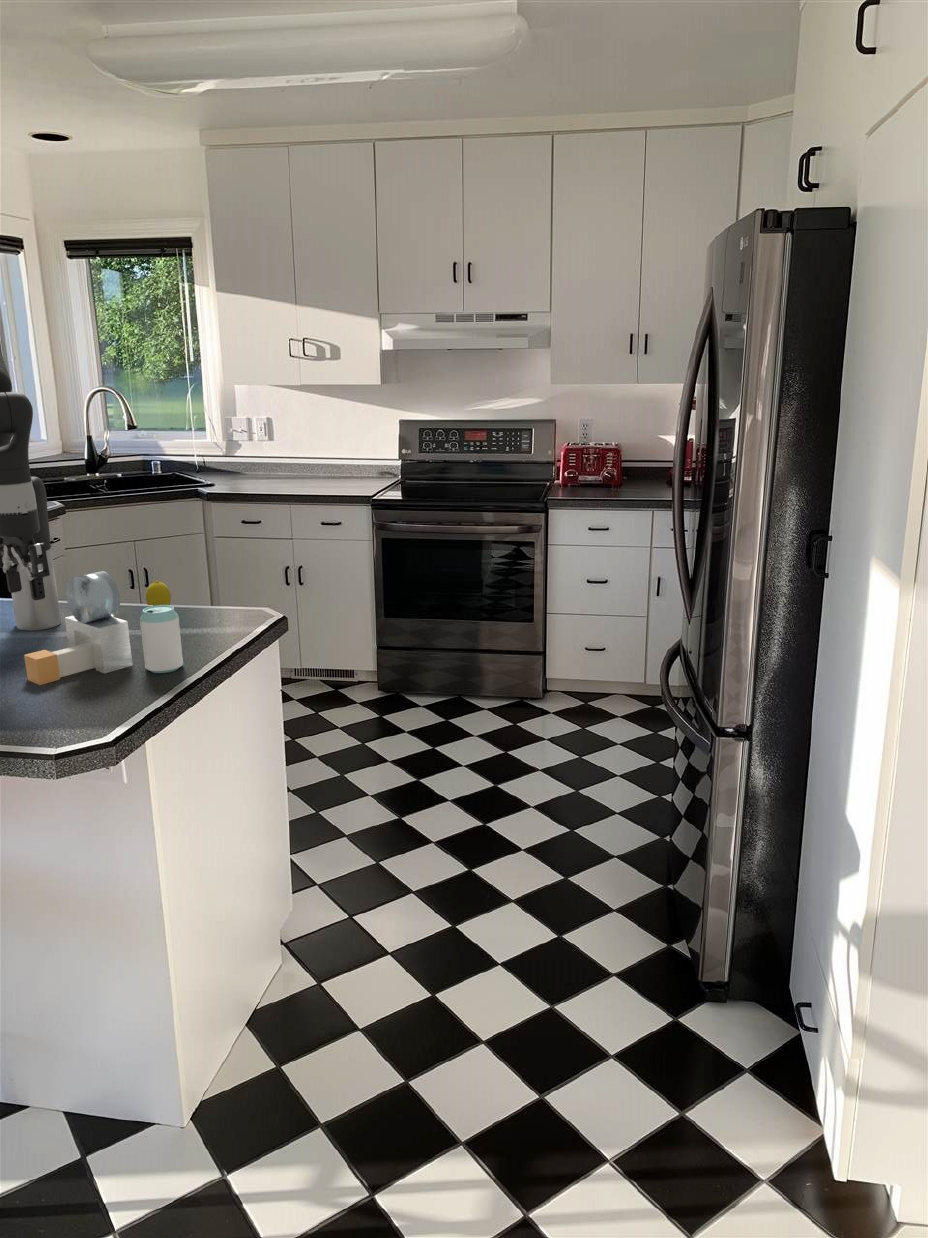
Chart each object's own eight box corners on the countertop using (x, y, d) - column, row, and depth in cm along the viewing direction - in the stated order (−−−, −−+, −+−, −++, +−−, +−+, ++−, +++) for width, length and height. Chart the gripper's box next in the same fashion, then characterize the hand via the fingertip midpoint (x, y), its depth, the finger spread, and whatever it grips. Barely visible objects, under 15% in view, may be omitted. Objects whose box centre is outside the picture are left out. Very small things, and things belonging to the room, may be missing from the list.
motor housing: (70, 661, 192) (58, 572, 187) (98, 653, 197) (87, 567, 192) (104, 673, 185) (93, 582, 180) (132, 665, 189) (122, 575, 184)
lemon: (165, 617, 222) (161, 583, 219) (143, 616, 223) (139, 583, 220) (176, 611, 227) (173, 578, 225) (155, 610, 228) (151, 577, 226)
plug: (27, 680, 182) (24, 654, 180) (121, 654, 196) (118, 630, 195) (39, 685, 179) (36, 659, 178) (133, 658, 193) (130, 634, 192)
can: (169, 675, 183) (162, 614, 179) (137, 672, 185) (130, 612, 182) (190, 664, 189) (184, 605, 186) (160, 661, 191) (153, 602, 188)
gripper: (-27, 506, 173) (-12, 593, 178) (12, 515, 165) (26, 606, 169) (14, 500, 179) (27, 585, 184) (54, 508, 170) (66, 597, 175)
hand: (27, 595), depth 177 cm, fingers open, 8 cm apart
